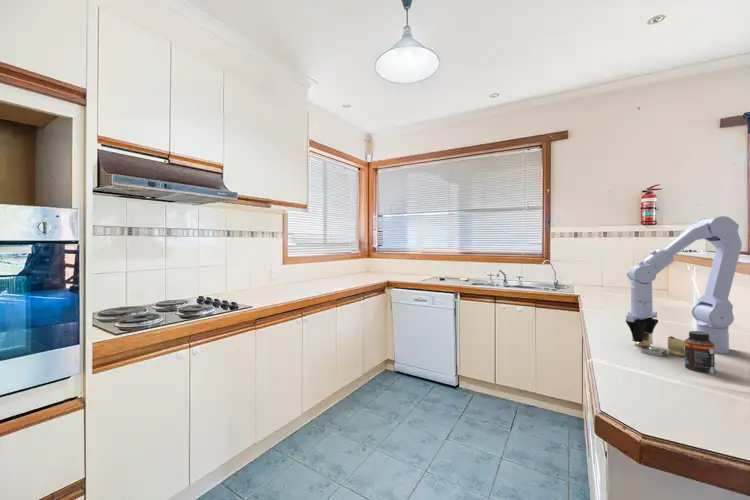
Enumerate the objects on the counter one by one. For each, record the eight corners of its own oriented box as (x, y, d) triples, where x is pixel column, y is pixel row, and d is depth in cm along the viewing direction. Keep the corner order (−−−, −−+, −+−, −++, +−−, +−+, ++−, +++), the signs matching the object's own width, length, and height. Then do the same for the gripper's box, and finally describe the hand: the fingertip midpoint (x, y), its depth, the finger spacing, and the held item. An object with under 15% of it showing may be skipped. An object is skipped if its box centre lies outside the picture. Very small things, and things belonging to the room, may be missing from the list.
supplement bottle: (721, 378, 89) (720, 335, 89) (695, 376, 90) (694, 334, 90) (704, 370, 94) (703, 330, 94) (679, 369, 96) (678, 329, 96)
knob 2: (692, 357, 102) (692, 340, 102) (680, 357, 101) (679, 341, 101) (676, 352, 107) (676, 336, 107) (664, 352, 107) (664, 336, 107)
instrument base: (634, 346, 118) (634, 337, 118) (696, 357, 105) (696, 348, 105) (620, 352, 111) (620, 343, 111) (685, 365, 98) (684, 355, 98)
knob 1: (654, 347, 113) (654, 331, 113) (647, 348, 111) (647, 333, 111) (637, 343, 117) (636, 328, 117) (630, 344, 116) (630, 330, 116)
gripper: (640, 297, 121) (641, 335, 121) (616, 300, 115) (616, 340, 115) (663, 300, 114) (664, 339, 114) (639, 303, 108) (640, 345, 108)
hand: (642, 340), depth 114 cm, fingers open, 4 cm apart
